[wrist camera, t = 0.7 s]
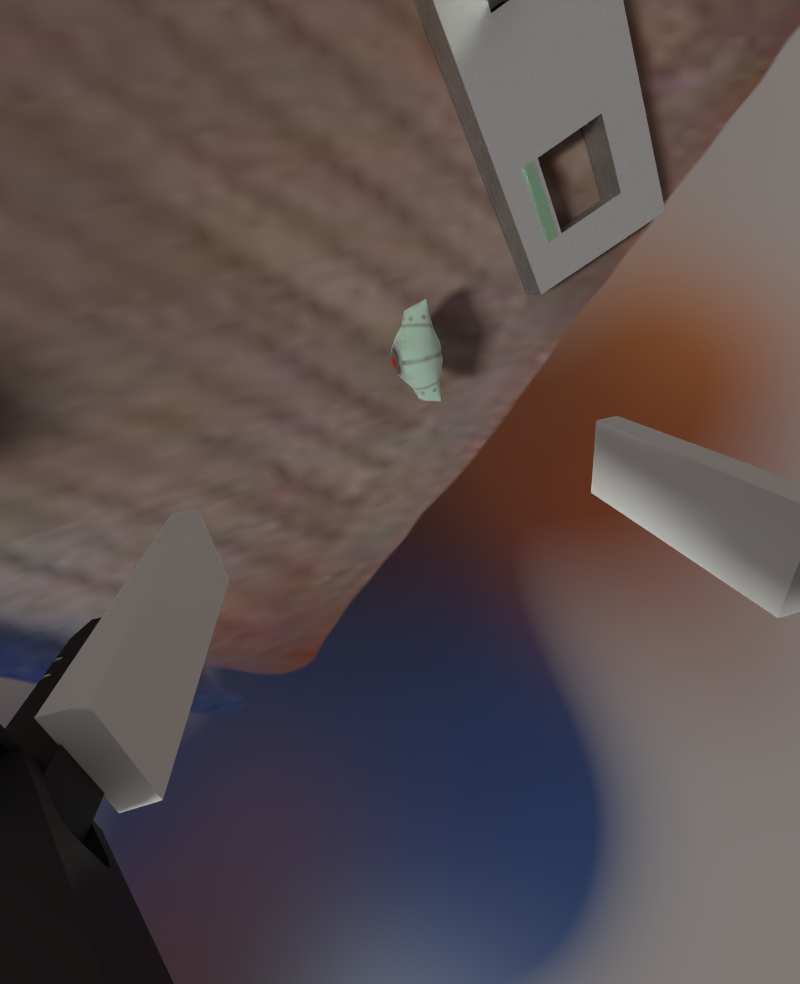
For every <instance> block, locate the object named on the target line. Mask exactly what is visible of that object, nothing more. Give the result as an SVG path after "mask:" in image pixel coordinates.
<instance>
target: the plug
mask: <svg viewBox="0 0 800 984" xmlns="http://www.w3.org/2000/svg"><path fill="white" fill-rule="evenodd" d="M502 1H503V0H487V2H488V5H489V8H490V10H491V9H492V8H494V7H495V6H497V5H498V4H499V3H501V2H502Z"/></svg>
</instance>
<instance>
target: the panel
mask: <svg viewBox="0 0 800 984" xmlns="http://www.w3.org/2000/svg"><path fill="white" fill-rule="evenodd" d="M414 2H415V5H416V8H417V10H418V13H419V15H420V18H421V21H422V23H423V26H424V28H425V31H426V34H427V36H428V39H429V41H430V44H431V47H432V49H433V52H434V54H435V57H436V60H437V62H438V65H439V67H440V70H441V73H442V75H443V78H444V80H445V83H446V86H447V88H448V91H449V93H450V96H451V99H452V101H453V104H454V106H455V109H456V112H457V114H458V117H459V119H460V122H461V125H462V127H463V130H464V132H465V135H466V138H467V140H468V143H469V145H470V148H471V151H472V153H473V156H474V158H475V161H476V164H477V166H478V169H479V171H480V174H481V177H482V179H483V182H484V184H485V187H486V190H487V192H488V195H489V197H490V200H491V203H492V205H493V208H494V210H495V213H496V216H497V218H498V221H499V223H500V226H501V229H502V231H503V234H504V236H505V239H506V242H507V244H508V247H509V249H510V252H511V255H512V257H513V260H514V262H515V265H516V268H517V270H518V273H519V275H520V278H521V281H522V283H523V286H524V288H525V291H526V294H527V295H541V294H543V293H544V292H546V291H547V290H549V289H550V288H552V287H553V286H555V285H556V284H558V283H559V282H561V281H562V280H564V279H565V278H567V277H568V276H570V275H571V274H573V273H574V272H576V271H577V270H579V269H580V268H582V267H583V266H585V265H586V264H588V263H589V262H591V261H592V260H594V259H595V258H597V257H598V256H600V255H601V254H602V253H604V252H605V251H607V250H608V249H610V248H611V247H613V246H614V245H616V244H617V243H619V242H620V241H622V240H623V239H625V238H626V237H628V236H629V235H631V234H632V233H634V232H635V231H637V230H638V229H640V228H641V227H643V226H644V225H646V224H647V223H649V222H650V221H652V220H653V219H655V218H656V217H658V216H659V215H661V214H662V213H664V212H665V207H664V202H663V197H662V192H661V187H660V182H659V177H658V172H657V167H656V162H655V157H654V152H653V147H652V142H651V137H650V132H649V127H648V122H647V117H646V112H645V107H644V102H643V97H642V92H641V87H640V82H639V77H638V72H637V67H636V62H635V57H634V52H633V47H632V42H631V37H630V32H629V27H628V22H627V17H626V12H625V7H624V2H623V0H509V1H507V2H506V3H505V4H503V5H502V6H501V7H499V8H498V9H497V10H495V11H494V12H493V13H491V11H490V8H489V5H488V2H487V0H414ZM581 127H582V131H583V135H584V138H585V142H586V146H587V150H588V153H589V157H590V161H591V165H592V169H593V172H594V176H595V180H596V184H597V187H598V191H599V195H600V199H601V200H600V201H599V202H598V203H596V204H595V205H593V206H592V207H590V208H589V209H587V210H586V211H584V212H583V213H581V214H580V215H578V216H577V217H576V218H574V219H573V220H571V221H570V222H568V223H567V224H565V225H564V226H562V227H561V228H560V227H559V223H558V220H557V217H556V214H555V211H554V208H553V205H552V202H551V198H550V195H549V192H548V189H547V186H546V183H545V180H544V177H543V173H542V170H541V167H540V164H539V161H538V157H540V156H541V155H543V154H544V153H546V152H547V151H548V150H550V149H551V148H553V147H554V146H556V145H557V144H558V143H560V142H561V141H563V140H564V139H566V138H567V137H568V136H570V135H571V134H573V133H574V132H576V131H577V130H578V129H580V128H581Z"/></svg>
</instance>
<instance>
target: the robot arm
mask: <svg viewBox="0 0 800 984" xmlns="http://www.w3.org/2000/svg"><path fill="white" fill-rule="evenodd" d="M591 493H593V494H594V495H596V496H597V497H599V498H600V499H601V500H603V501H605V502H606V503H608V504H609V505H611V506H612V507H613V508H615V509H617V510H618V511H619V512H621V513H622V514H624V515H625V516H627V517H628V518H630V519H631V520H633V521H634V522H636V523H637V524H639V525H640V526H642V527H643V528H645V529H646V530H648V531H649V532H651V533H652V534H654V535H655V536H656V537H658V538H659V539H661V540H663V541H664V542H666V543H667V544H668V545H670V546H672V547H673V548H674V549H676V550H678V551H679V552H680V553H682V554H683V555H685V556H686V557H688V558H689V559H691V560H692V561H694V562H695V563H697V564H698V565H700V566H701V567H703V568H704V569H706V570H707V571H709V572H710V573H712V574H713V575H714V576H716V577H717V578H719V579H720V580H722V581H723V582H725V583H726V584H728V585H730V586H731V587H732V588H734V589H735V590H737V591H738V592H740V593H741V594H743V595H744V596H746V597H747V598H749V599H750V600H752V601H753V602H755V603H756V604H758V605H759V606H761V607H762V608H764V609H765V610H767V611H768V612H769V613H771V614H773V615H774V616H775V617H777V618H781V617H784V616H787V615H791V614H794V613H798V612H800V483H799V482H796V481H794V480H791V479H788V478H785V477H783V476H780V475H777V474H774V473H771V472H769V471H766V470H764V469H761V468H758V467H755V466H753V465H750V464H747V463H744V462H742V461H739V460H736V459H733V458H731V457H728V456H725V455H722V454H720V453H717V452H714V451H711V450H708V449H706V448H703V447H701V446H698V445H695V444H692V443H690V442H687V441H684V440H681V439H679V438H676V437H673V436H670V435H667V434H665V433H662V432H659V431H657V430H654V429H651V428H649V427H646V426H643V425H640V424H638V423H635V422H632V421H629V420H627V419H624V418H621V417H618V416H615V417H611V418H606V419H601V420H597V421H596V434H595V447H594V460H593V474H592V487H591ZM228 581H229V578H228V576H227V574H226V571H225V569H224V567H223V565H222V562H221V560H220V558H219V555H218V553H217V551H216V548H215V546H214V544H213V542H212V539H211V537H210V535H209V532H208V530H207V528H206V526H205V523H204V521H203V519H202V516H201V514H200V512H199V509H198V508H195V509H190V510H186V511H181V512H176V513H172V514H171V515H170V517H169V518H168V520H167V521H166V523H165V524H164V525H163V527H162V528H161V530H160V531H159V533H158V534H157V536H156V537H155V539H154V540H153V542H152V543H151V545H150V546H149V548H148V549H147V551H146V552H145V554H144V555H143V557H142V558H141V560H140V561H139V563H138V564H137V566H136V567H135V569H134V570H133V572H132V573H131V575H130V576H129V578H128V579H127V581H126V582H125V584H124V585H123V587H122V588H121V590H120V591H119V592H118V594H117V595H116V597H115V598H114V600H113V601H112V603H111V604H110V606H109V607H108V609H107V610H106V612H105V613H104V615H103V616H102V617H101V618H97V619H93V620H91V621H90V622H89V623H88V624H86V625H85V626H84V627H83V628H82V629H81V630H80V631H79V632H77V633H76V634H75V635H74V636H73V637H72V638H71V639H70V640H69V641H68V643H67V644H66V645H65V647H64V648H63V650H62V651H61V652H60V654H59V655H58V656H57V658H56V662H54V663H52V665H51V666H50V667H49V669H48V670H47V672H46V673H45V674H44V679H42V680H40V681H39V683H38V684H37V685H36V687H35V688H34V690H33V691H32V692H31V694H30V695H29V697H28V698H27V700H26V701H25V702H24V703H23V705H22V706H21V708H20V709H19V710H18V712H17V713H16V715H15V716H14V717H13V719H12V720H11V722H10V723H9V724H8V726H7V727H6V728H5V729H4V728H3V727H2V726H1V724H0V984H174V983H173V981H172V978H171V976H170V974H169V972H168V970H167V968H166V966H165V964H164V961H163V959H162V957H161V955H160V953H159V951H158V949H157V946H156V944H155V942H154V940H153V938H152V936H151V934H150V932H149V929H148V928H147V925H146V923H145V921H144V919H143V917H142V914H141V912H140V910H139V908H138V906H137V904H136V902H135V899H134V897H133V895H132V894H131V891H130V889H129V887H128V885H127V882H126V880H125V878H124V876H123V874H122V872H121V870H120V868H119V865H118V863H117V861H116V859H115V857H114V855H113V853H112V850H111V849H110V846H109V844H108V842H107V840H106V838H105V835H104V834H103V831H102V829H101V828H99V826H98V825H97V824H96V823H95V822H94V821H93V819H94V817H95V814H96V812H97V810H98V807H99V805H100V803H101V800H102V798H103V796H104V797H105V798H106V799H107V800H108V801H109V802H110V803H111V805H112V806H113V807H114V808H115V809H116V810H117V811H118V812H119V813H121V812H124V811H127V810H131V809H134V808H138V807H141V806H145V805H148V804H151V803H155V802H158V801H162V800H163V797H164V794H165V790H166V787H167V783H168V780H169V777H170V774H171V770H172V767H173V764H174V761H175V757H176V754H177V751H178V747H179V744H180V741H181V737H182V734H183V731H184V727H185V724H186V721H187V717H188V714H189V711H190V707H191V704H192V701H193V697H194V694H195V691H196V688H197V684H198V681H199V678H200V674H201V671H202V668H203V664H204V661H205V658H206V654H207V651H208V648H209V644H210V641H211V638H212V634H213V631H214V628H215V624H216V621H217V618H218V614H219V611H220V608H221V605H222V601H223V598H224V595H225V591H226V588H227V585H228Z"/></svg>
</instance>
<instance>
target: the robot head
mask: <svg viewBox="0 0 800 984" xmlns="http://www.w3.org/2000/svg"><path fill="white" fill-rule="evenodd" d="M391 352H392V362H393V365H394V367H395V370H396V373H397V375H398V376H400V377H401V378H402V379H403V380H404V381H405V382H407V383H408V384H409V385H410V386H411V387H412V388H413V389H414V391H415V393H416V394H417V396H418V398H419V399H422V400H424V401H441V396H440V376H441V368H442V362H443V359H442V352H441V344H440V341H439V339H438V337H437V335H436V333H435V330H434V327H433V324H432V321H431V319H430V314H429V310H428V305H427V300H426V299H425V300H423V301H421V302H420V303H418V304H416V305H414V306H412V307H410V308H409V309H407V310H405V311H404V315H403V321H402V326H401V328H400V330H399V331H398V333H397V335H396V338H395V340H394V343H393V346H392V349H391Z"/></svg>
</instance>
